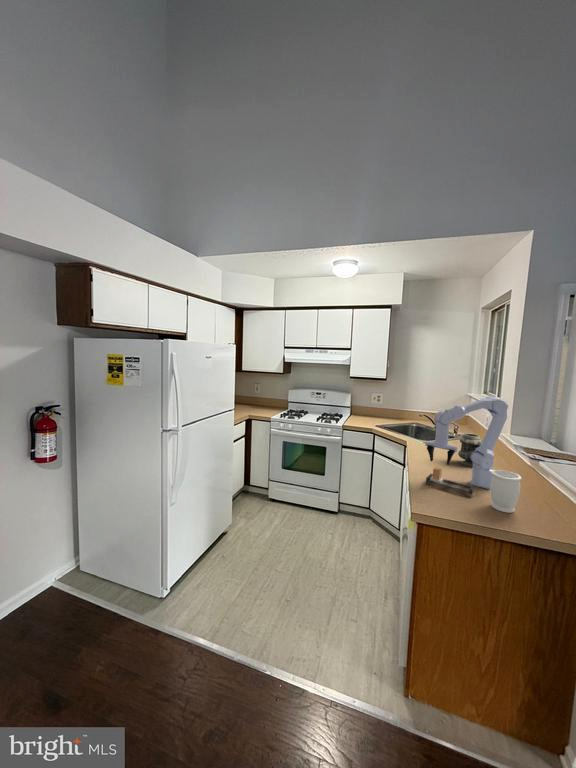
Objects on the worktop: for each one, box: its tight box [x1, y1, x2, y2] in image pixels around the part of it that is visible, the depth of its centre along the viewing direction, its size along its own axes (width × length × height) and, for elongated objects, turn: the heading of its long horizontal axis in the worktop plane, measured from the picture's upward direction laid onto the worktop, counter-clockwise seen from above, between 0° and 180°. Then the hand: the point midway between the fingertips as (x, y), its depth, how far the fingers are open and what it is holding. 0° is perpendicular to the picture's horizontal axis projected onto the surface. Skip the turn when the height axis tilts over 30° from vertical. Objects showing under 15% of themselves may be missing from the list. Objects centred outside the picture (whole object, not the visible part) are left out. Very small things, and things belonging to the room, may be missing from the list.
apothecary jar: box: [457, 432, 483, 468], centre depth 186 cm, size 12×12×18 cm
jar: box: [489, 469, 522, 514], centre depth 133 cm, size 11×10×15 cm
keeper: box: [430, 466, 445, 483], centre depth 156 cm, size 5×5×6 cm
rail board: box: [424, 473, 476, 499], centre depth 152 cm, size 20×9×4 cm, turn 50°
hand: (439, 462), depth 158 cm, fingers open, 7 cm apart
